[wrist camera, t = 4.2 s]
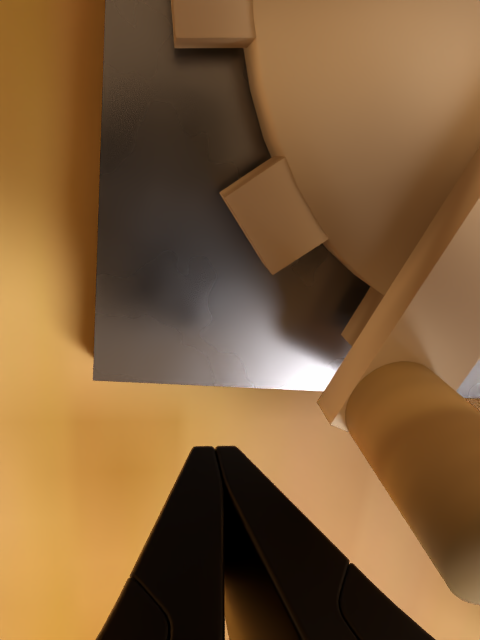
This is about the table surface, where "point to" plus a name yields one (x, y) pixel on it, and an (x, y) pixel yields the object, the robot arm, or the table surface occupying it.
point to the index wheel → (377, 224)
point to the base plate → (199, 229)
